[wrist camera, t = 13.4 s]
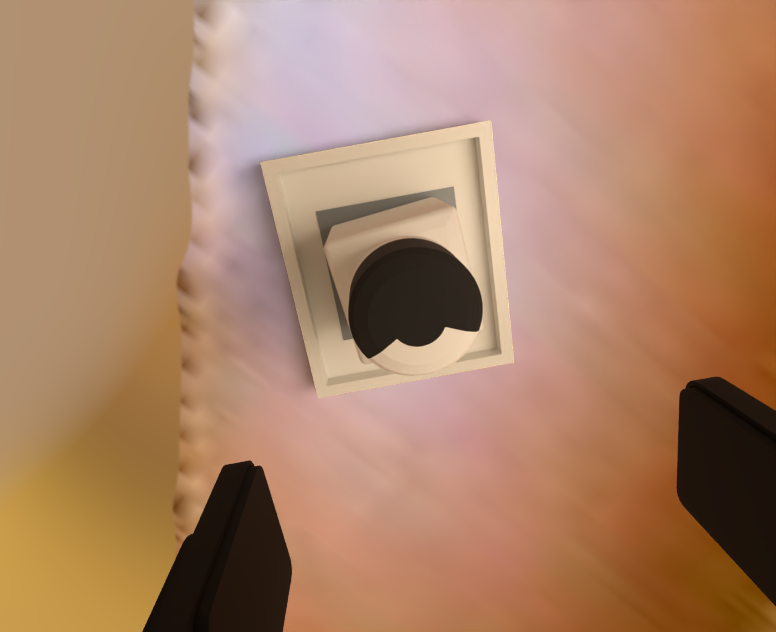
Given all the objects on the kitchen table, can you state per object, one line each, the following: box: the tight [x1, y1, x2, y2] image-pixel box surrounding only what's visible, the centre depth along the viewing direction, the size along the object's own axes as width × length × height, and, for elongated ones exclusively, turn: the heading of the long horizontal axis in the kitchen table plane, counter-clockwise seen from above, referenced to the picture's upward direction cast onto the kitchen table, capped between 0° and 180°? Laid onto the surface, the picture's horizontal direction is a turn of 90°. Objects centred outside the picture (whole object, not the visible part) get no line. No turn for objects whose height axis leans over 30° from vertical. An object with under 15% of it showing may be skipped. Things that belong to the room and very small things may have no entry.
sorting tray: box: [260, 120, 514, 398], centre depth 32 cm, size 16×14×2 cm
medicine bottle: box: [324, 197, 483, 376], centre depth 26 cm, size 7×7×12 cm
